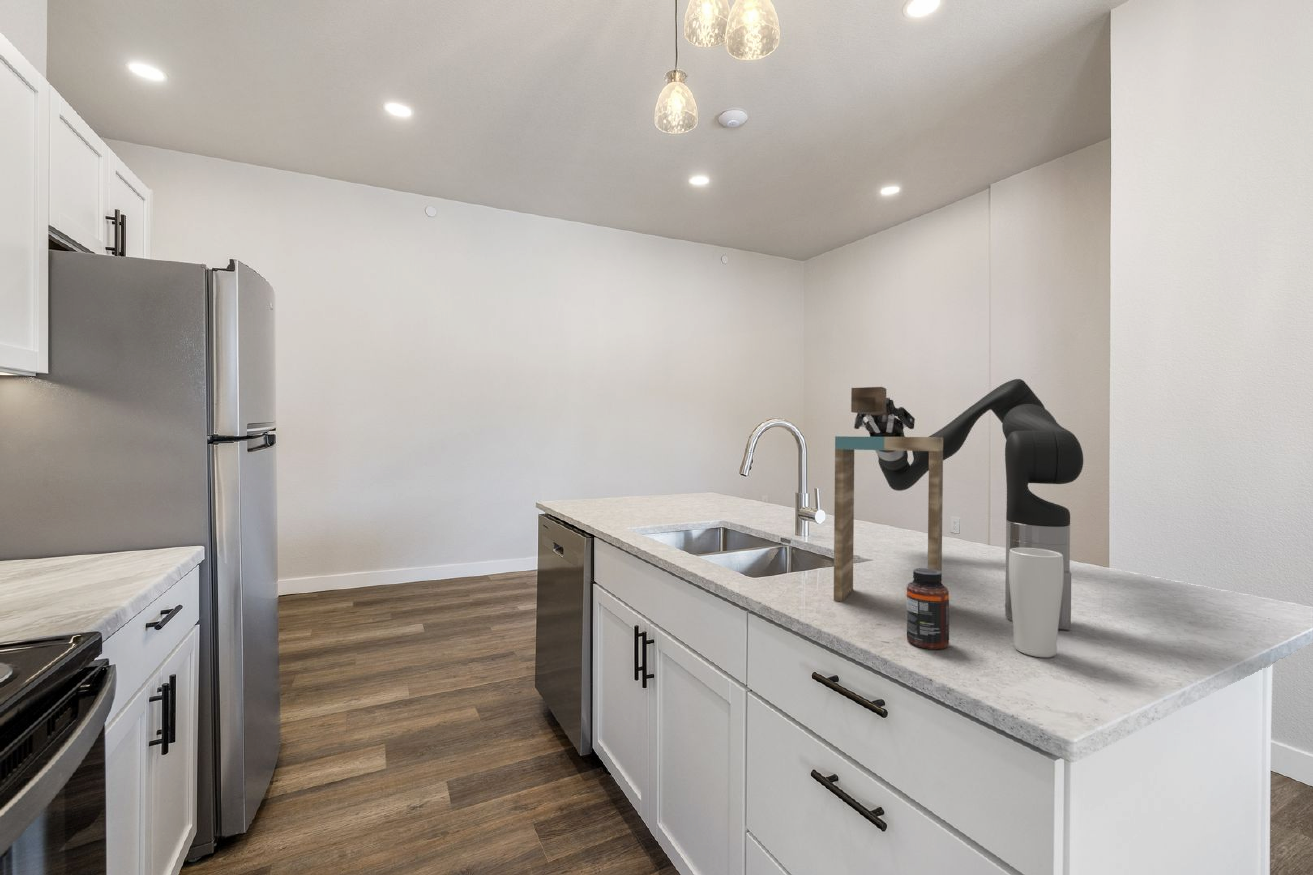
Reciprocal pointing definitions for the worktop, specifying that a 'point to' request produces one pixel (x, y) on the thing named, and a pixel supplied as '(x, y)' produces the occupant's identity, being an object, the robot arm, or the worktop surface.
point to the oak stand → (846, 500)
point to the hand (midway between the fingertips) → (877, 401)
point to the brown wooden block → (869, 400)
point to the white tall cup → (1035, 599)
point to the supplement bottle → (927, 610)
